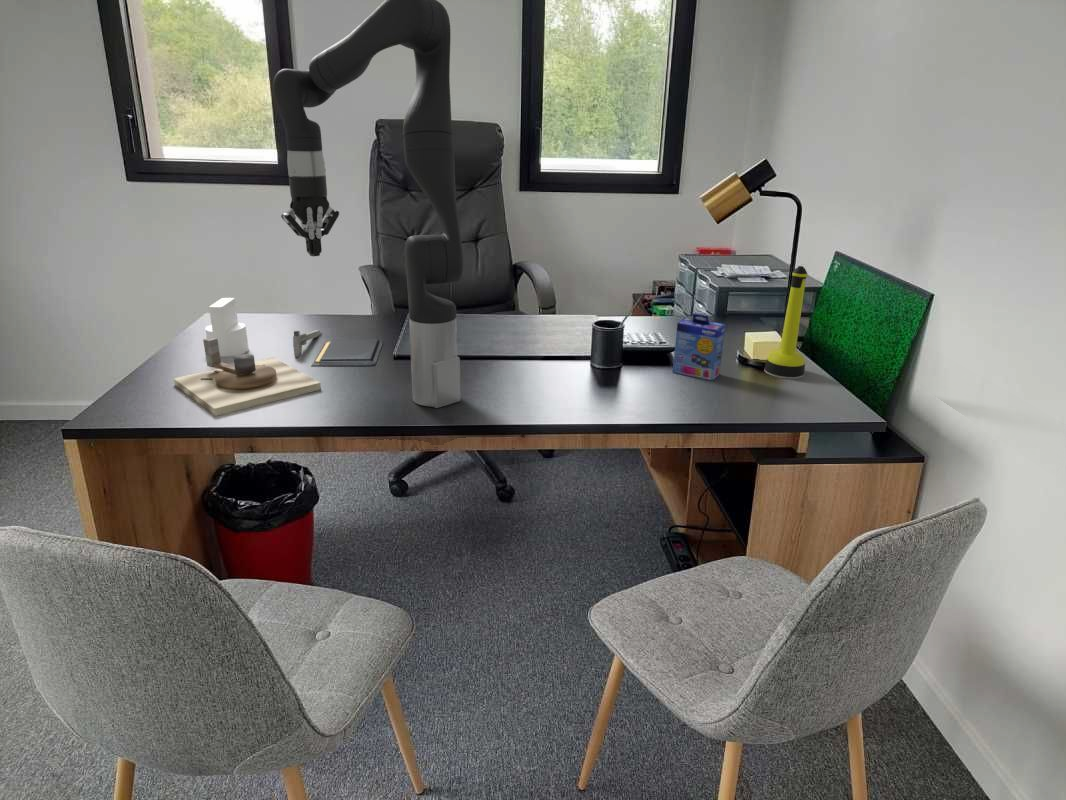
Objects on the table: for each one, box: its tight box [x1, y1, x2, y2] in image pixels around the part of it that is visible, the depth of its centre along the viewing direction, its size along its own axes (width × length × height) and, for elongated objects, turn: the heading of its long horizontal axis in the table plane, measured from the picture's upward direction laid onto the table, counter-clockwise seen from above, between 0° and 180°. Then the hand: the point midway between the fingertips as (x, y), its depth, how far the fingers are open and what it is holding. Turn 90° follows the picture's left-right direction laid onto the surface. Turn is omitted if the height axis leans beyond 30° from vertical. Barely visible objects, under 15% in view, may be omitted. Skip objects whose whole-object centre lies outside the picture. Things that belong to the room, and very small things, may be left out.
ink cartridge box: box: [672, 313, 726, 381], centre depth 163 cm, size 10×6×14 cm, turn 59°
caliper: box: [292, 329, 322, 358], centre depth 179 cm, size 21×1×6 cm, turn 1°
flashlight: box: [763, 265, 808, 380], centre depth 164 cm, size 25×9×9 cm
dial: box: [202, 337, 277, 389], centre depth 151 cm, size 17×12×7 cm
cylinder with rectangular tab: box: [204, 297, 249, 358], centre depth 172 cm, size 9×9×12 cm
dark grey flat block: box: [310, 338, 384, 368], centre depth 174 cm, size 20×2×15 cm
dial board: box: [173, 357, 322, 417], centre depth 151 cm, size 22×22×2 cm
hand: (314, 255), depth 158 cm, fingers closed
